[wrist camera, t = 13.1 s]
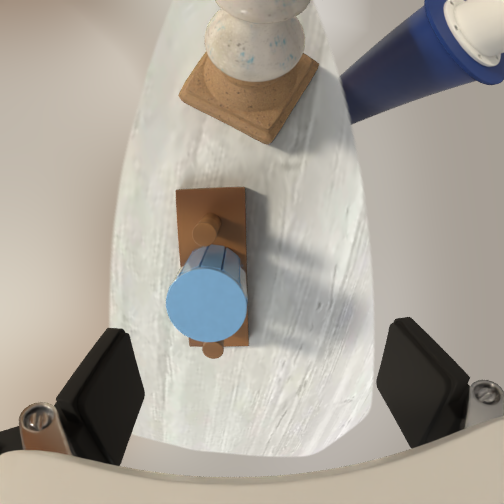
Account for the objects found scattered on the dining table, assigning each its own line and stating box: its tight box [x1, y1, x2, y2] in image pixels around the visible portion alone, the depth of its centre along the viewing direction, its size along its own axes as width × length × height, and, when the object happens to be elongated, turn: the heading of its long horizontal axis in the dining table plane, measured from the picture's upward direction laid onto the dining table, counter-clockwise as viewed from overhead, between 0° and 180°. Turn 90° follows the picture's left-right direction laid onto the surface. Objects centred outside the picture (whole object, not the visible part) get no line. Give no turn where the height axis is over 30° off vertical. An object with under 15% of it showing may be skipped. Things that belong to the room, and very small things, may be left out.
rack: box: [176, 187, 249, 359], centre depth 28 cm, size 18×7×8 cm, turn 1°
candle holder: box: [179, 0, 319, 145], centre depth 15 cm, size 11×11×24 cm
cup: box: [166, 244, 248, 342], centre depth 27 cm, size 7×7×8 cm
